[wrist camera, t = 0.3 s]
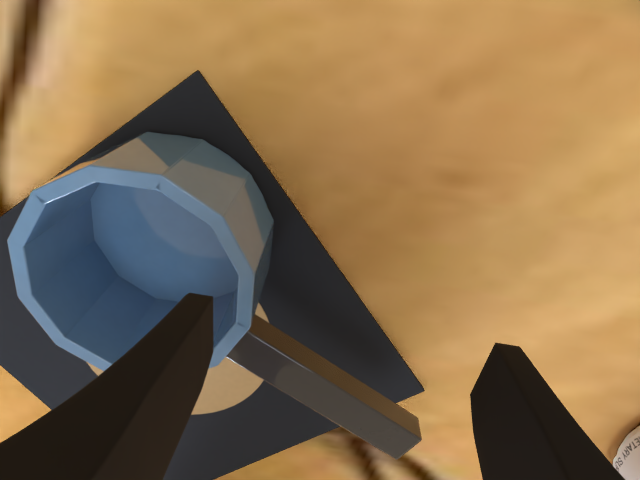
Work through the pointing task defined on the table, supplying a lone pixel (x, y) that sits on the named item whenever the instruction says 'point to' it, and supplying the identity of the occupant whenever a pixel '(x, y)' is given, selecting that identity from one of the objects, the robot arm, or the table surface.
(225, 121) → the desk mat
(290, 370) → the pot
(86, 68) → the table surface
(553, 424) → the robot arm
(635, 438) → the supplement can
